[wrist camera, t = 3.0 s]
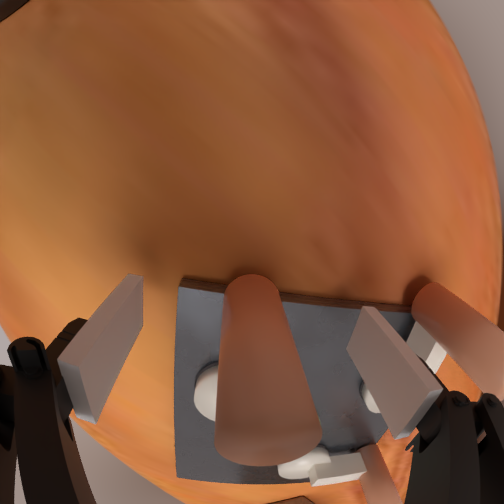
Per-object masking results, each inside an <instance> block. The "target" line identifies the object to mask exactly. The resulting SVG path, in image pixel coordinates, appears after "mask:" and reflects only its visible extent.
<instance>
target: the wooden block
mask: <svg viewBox="0 0 504 504" xmlns="http://www.w3.org/2000/svg"><path fill="white" fill-rule="evenodd" d="M271 504H314V503H312V502H311V501H309V500H308V499H306V498H305V497H302V496H301V497H297V498H293V499H289V500H285V501H281V502H276V503H271Z"/></svg>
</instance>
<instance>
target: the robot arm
mask: <svg viewBox="0 0 504 504" xmlns="http://www.w3.org/2000/svg"><path fill="white" fill-rule="evenodd" d="M27 1H28V0H0V21H1V20H3V19H4V18H6V17H7V16H9V15H10V14H11V13H13V12H14V11H15V10H17V9H18V8H19V7H20V6H22V5H23V4H24V3H25V2H27ZM142 327H143V276H139V275H134V274H128V275H127V276H126V277H125V278H124V279H123V280H122V281H121V282H120V284H119V285H118V286H117V287H116V288H115V289H114V290H113V291H112V293H111V294H110V295H109V296H108V297H107V298H106V299H105V301H104V302H103V303H102V304H101V305H100V306H99V308H98V309H97V310H96V311H95V312H94V314H93V315H92V316H91V317H90V318H89V319H88V320H86V319H82V318H77V319H75V320H73V321H71V322H70V323H68V324H67V326H66V327H65V328H64V329H63V330H62V332H60V333H59V335H58V336H57V338H55V339H54V340H53V342H52V343H51V344H50V345H49V346H48V347H47V349H46V350H45V347H44V344H43V343H42V342H41V341H40V340H39V339H37V338H34V337H22V338H19V339H17V340H15V341H13V342H12V343H11V344H10V345H9V347H8V350H7V352H8V355H9V358H10V360H11V363H12V366H13V367H12V366H5V365H0V504H14V486H15V471H16V469H15V468H16V460H17V457H18V464H19V470H20V476H21V481H22V486H23V491H24V495H25V499H26V503H27V504H96V501H95V499H94V496H93V494H92V491H91V489H90V486H89V484H88V480H87V477H86V474H85V471H84V468H83V465H82V462H81V459H80V455H79V452H78V448H77V444H76V441H75V437H74V433H73V428H72V424H71V420H70V418H69V414H70V412H71V410H72V408H73V409H74V411H75V414H76V416H77V418H80V419H83V420H85V421H88V422H91V423H94V424H96V423H97V421H98V419H99V416H100V414H101V412H102V409H103V407H104V405H105V403H106V400H107V398H108V396H109V394H110V392H111V390H112V387H113V385H114V383H115V381H116V379H117V377H118V375H119V373H120V370H121V368H122V366H123V364H124V362H125V360H126V358H127V356H128V354H129V352H130V350H131V348H132V346H133V344H134V342H135V340H136V338H137V336H138V334H139V332H140V330H141V329H142ZM346 350H347V351H348V353H349V355H350V357H351V359H352V360H353V362H354V364H355V366H356V368H357V370H358V371H359V373H360V375H361V377H362V379H363V381H364V382H365V384H366V386H367V388H368V390H369V392H370V394H371V395H372V397H373V399H374V401H375V403H376V405H377V407H378V409H379V411H380V413H381V414H382V416H383V418H384V420H385V422H386V424H387V426H388V428H389V430H390V432H391V434H392V436H393V438H394V440H395V439H400V438H404V437H408V436H409V435H410V434H411V433H412V431H413V430H414V429H415V428H416V427H417V429H418V431H419V433H418V434H417V435H416V436H415V437H414V439H413V440H412V441H411V442H410V443H409V444H408V446H407V447H406V449H405V450H406V451H407V450H408V449H409V448H410V447H411V446H412V445H414V447H413V448H412V450H411V451H410V452H413V457H412V465H411V471H410V478H409V483H408V489H407V494H406V499H405V503H404V504H504V407H503V405H502V403H501V402H500V400H499V399H498V398H497V397H496V396H495V395H493V394H491V393H484V394H483V395H482V396H481V398H480V399H479V400H478V402H470V400H469V398H468V397H467V396H466V395H464V394H463V393H461V392H459V391H450V392H449V391H448V389H447V388H446V387H445V386H444V384H443V383H442V382H441V381H440V379H439V378H438V377H437V376H436V374H434V372H433V371H432V369H431V368H429V366H428V365H427V363H426V362H425V361H424V360H423V359H422V358H420V357H419V356H418V355H416V354H415V353H414V352H413V351H412V349H411V348H410V347H409V346H408V345H407V343H406V342H405V341H404V340H403V339H402V338H401V336H400V335H399V334H398V333H397V332H396V331H395V329H394V328H393V327H392V326H391V325H390V324H389V323H388V321H387V320H386V319H385V318H384V317H383V316H382V315H381V314H380V312H379V311H378V310H377V309H376V308H375V307H369V306H362V309H361V312H360V315H359V317H358V320H357V323H356V325H355V328H354V331H353V333H352V336H351V338H350V341H349V343H348V346H347V348H346ZM484 430H485V432H486V436H485V437H484V439H483V440H482V441H481V442H480V443H479V444H478V443H477V438H478V437H479V436H480V435H481V434H482V433H483V432H484Z"/></svg>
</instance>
